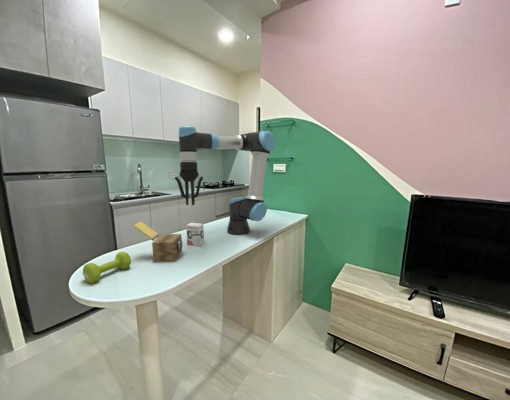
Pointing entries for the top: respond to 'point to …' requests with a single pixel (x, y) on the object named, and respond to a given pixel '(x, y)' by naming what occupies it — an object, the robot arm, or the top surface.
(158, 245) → the block
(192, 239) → the ink box
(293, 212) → the top surface
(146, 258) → the top surface
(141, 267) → the top surface
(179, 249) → the pin
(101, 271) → the dumbbell
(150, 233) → the tan flat board
